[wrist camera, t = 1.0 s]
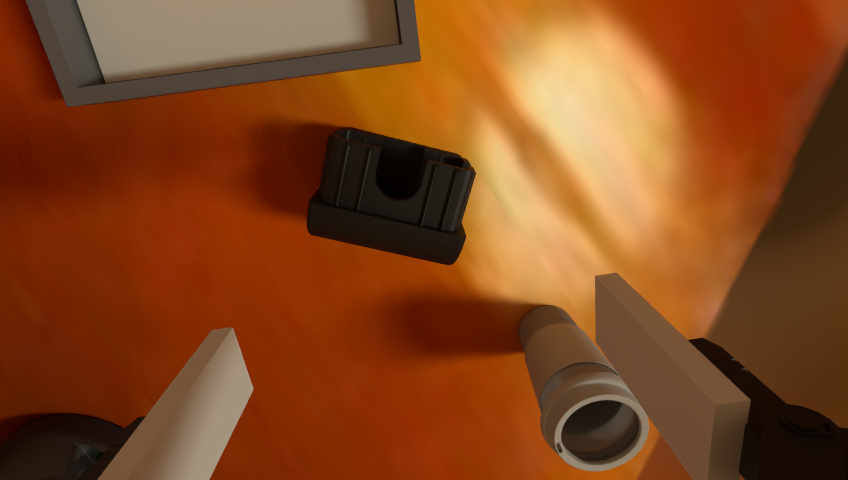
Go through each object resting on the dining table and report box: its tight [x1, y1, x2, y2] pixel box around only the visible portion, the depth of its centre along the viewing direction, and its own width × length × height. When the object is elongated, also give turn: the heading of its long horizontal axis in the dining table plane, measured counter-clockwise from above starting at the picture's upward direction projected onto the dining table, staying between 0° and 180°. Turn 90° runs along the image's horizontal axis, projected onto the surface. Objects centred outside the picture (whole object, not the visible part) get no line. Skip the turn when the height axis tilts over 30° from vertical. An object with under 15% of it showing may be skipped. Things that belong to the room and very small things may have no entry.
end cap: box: [307, 127, 476, 265], centre depth 31 cm, size 10×7×7 cm
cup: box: [519, 305, 649, 471], centre depth 33 cm, size 7×7×12 cm
